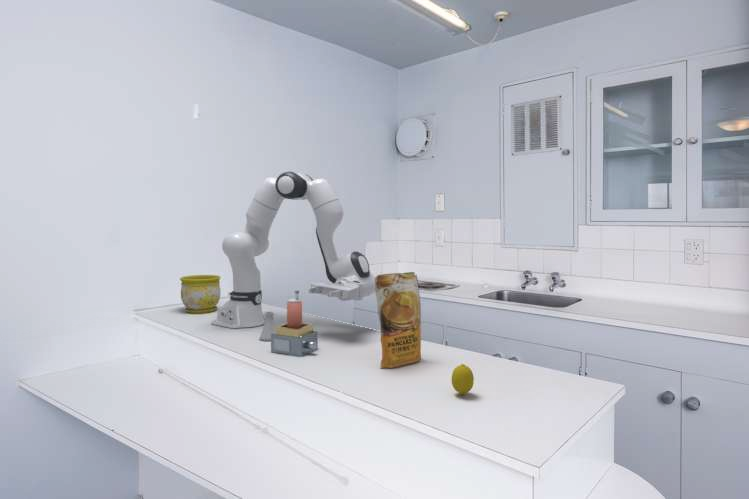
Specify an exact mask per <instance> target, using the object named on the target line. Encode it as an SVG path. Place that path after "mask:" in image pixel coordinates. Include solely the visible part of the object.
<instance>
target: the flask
mask: <svg viewBox="0 0 749 499" xmlns="http://www.w3.org/2000/svg"><path fill="white" fill-rule="evenodd" d="M264 315H265V318H264V321H265V323H264V324H263V328H262V330H261V334H260V336H259V339H258V340H259V341H264V342H266V341H267V342H268V341H269V342H271V334H273V332H276V330H275V327H276V325H275V322H274V321H275V320H274V311H265V312H264Z"/></svg>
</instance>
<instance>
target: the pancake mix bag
mask: <svg viewBox="0 0 749 499" xmlns="http://www.w3.org/2000/svg"><path fill="white" fill-rule="evenodd" d="M417 276H418V275H417V274H415V272H413V271H411V272H402V273H401V272H393V273H384V274H378V275H377V276H375V277H376V278H375V290H376V291H375V297H376V303H377V304H376V305H377V314H378V320H379V325H380V343H381V352H382V353H381V354H382V355H381V356H382V357H381V361H380V367H379V368H380V369H396V368H400V367H406V366H408V365H412V364H417V363H419V362H420V360H421V359H422V353H421V350H422V348H421V347H422V311H421V305H422V304H421V295H420V288H419V282H418V277H417Z"/></svg>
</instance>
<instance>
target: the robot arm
mask: <svg viewBox="0 0 749 499" xmlns="http://www.w3.org/2000/svg"><path fill="white" fill-rule="evenodd" d="M285 200H293V201H298V200H299V201H300V200H306V201H308V202H309V205H310V206H311V208H312V211H313V213H314V216H315V217H314V218H315V219H316V220H315V222H316V228H315V234H316V238H317V242H318V245H319V249H320V253H321V256H322V259H323V263H324V266H325V267H324V268H325V274H326V278H327V279H328V281H319V282H312V283H311V284H310V287H309V288H308V294H317V295H323V296H327V297H330V298H333V297H334V298H337V299H339V300H340V301H343V302H344V301H363V298H365V297H369V296H371V295H373V294H374V293H376V290H375V278H376V277H377V276H375V275H374V274H373V273H372V272H371V270H370V264H369V261H368V259H367V257H366V256H365V255H364V254H362V253H361V252H359V251H352V252H350V253H348V254H346V255H344V256H343V257H340V258H338V254H337V251H336V248H335V244H334V241H333V237H334V234H335V231H337V228H338V227H339V226H340V224H341V223H342V220H343V218H344V209H343V206H342V204H341V201H340V199H339V197H338V195H337V194H336V191H335V189H334V188H333V187H332V185H331V184H330V182H329V181H328V180H327V179H325V178H316V179H313V178H312V177H311V176H309V175H308V174H306V173H303V172H299V171H295V172H294V171H285V172H282V173H280V174H279V175H278V177H277V178H276V177H272V176H271V177H267V178H266V179H264V180H262V183H261V184H260V186H259V187H258V189H257V190H256V193H255V194H254V196H253V198H252V200H251V203H250V205H249V207H248V208H247V211H246V213H245V217H246V218H245V219H246V224H245V228H244V230H243V231H235V232H232V233H230V234H228V235H226V236H225V237H224V238H223V241H222V245H221V246H222V247H221V248H222V251H223V253H224V255H226V257H227V258H228V260H229V263H230V268H231V272H232V285H233V286H232V287H233V288H232V289H233V290H232V291H231V292H227V294H228V295H227V296H229V297H230V298H229V299H228V301H226V303H224V304H223V305H222V306H220V307H219V308H218V309H217V315H216V318H215V319H214V320H211V322H210V324H211V325H213V326H214V325H215V326H218V327H219V326H220V327H225V328H228V329H239V328H240V329H243V328H253V327H260V326H262V325H263V326H264V324H265V318H264V314H263V308H262V307H263V306H262V298H263V296H262V295H263V293H262V289H261V288H262V287H261V271H260V270H259V268H258V266H257V263H256V260H255V257H258V256H261V255H263V253H265V252H266V251H268V249H269V245H270V242H269V234H270V230H271V228H272V224H273V222H274V220H275V219H276V215H277V213H278V212H279V210H280V207H281V205H282V204H283V202H284V201H285Z"/></svg>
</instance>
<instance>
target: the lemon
mask: <svg viewBox="0 0 749 499" xmlns="http://www.w3.org/2000/svg"><path fill="white" fill-rule="evenodd" d="M451 374H452V375H451V385H452V387H453V389H454V390H455V391H456V392H458V393H459V395H461V396H464V395H465V394H467V393H468V392H470V391H471V390H472V388H473V386H474V380H475V378H474V377H475V376H474V373H473V371H472V369H471V368H470V367H469V366H467V365H465V364H464V363H461V364H459V365H457V366H455V368H454V369H453V370H452V373H451Z"/></svg>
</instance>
